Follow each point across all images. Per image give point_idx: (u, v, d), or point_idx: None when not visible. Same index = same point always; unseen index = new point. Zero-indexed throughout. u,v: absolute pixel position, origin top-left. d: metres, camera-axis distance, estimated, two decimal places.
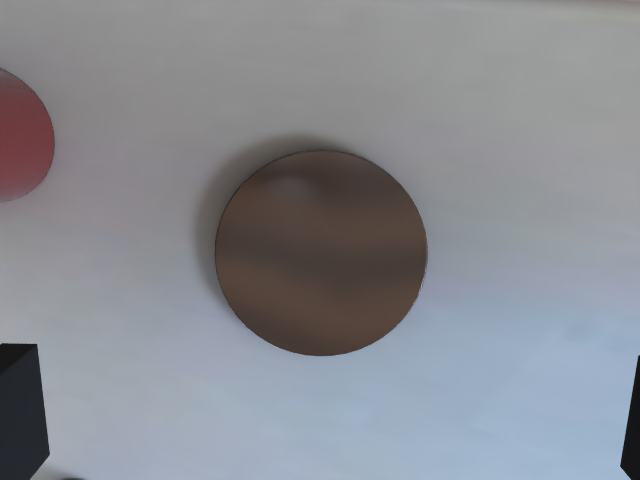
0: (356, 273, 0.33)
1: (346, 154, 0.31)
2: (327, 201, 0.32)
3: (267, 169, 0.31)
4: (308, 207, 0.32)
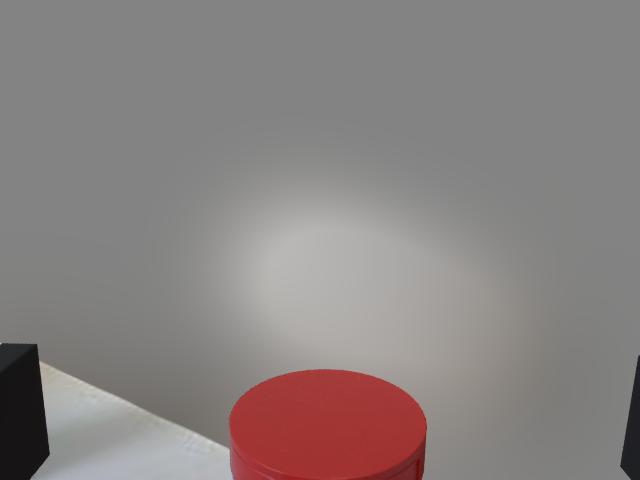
0: None
1: None
2: None
3: None
4: None
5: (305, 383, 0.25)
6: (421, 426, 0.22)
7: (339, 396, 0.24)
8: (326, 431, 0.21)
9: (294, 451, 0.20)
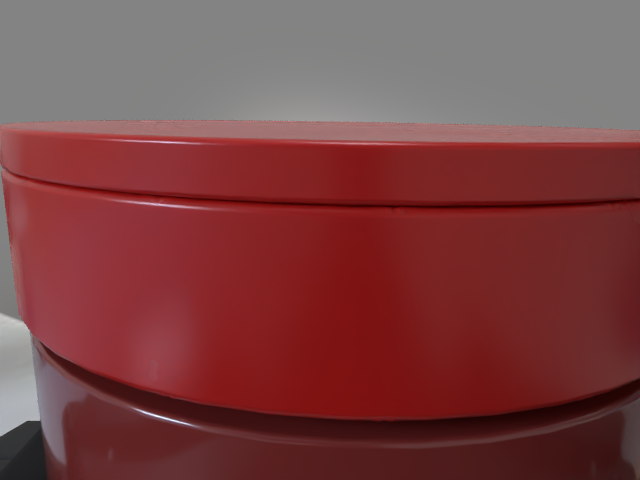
0: None
1: None
2: None
3: None
4: None
5: None
6: None
7: (379, 124, 0.09)
8: (349, 128, 0.06)
9: (217, 130, 0.05)
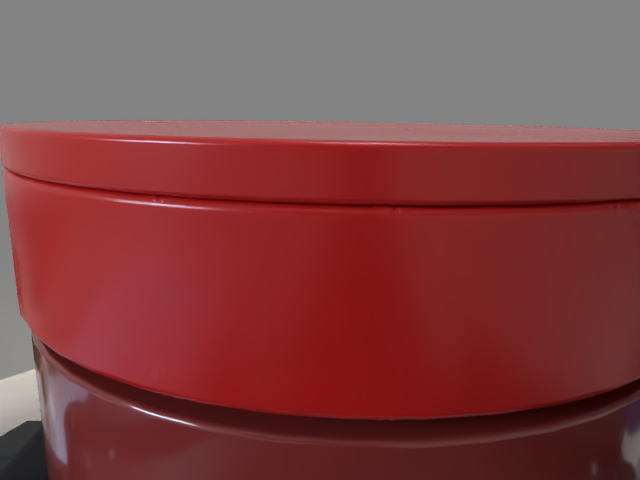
0: None
1: None
2: None
3: None
4: None
5: None
6: None
7: (379, 124, 0.09)
8: (349, 128, 0.06)
9: (218, 130, 0.05)
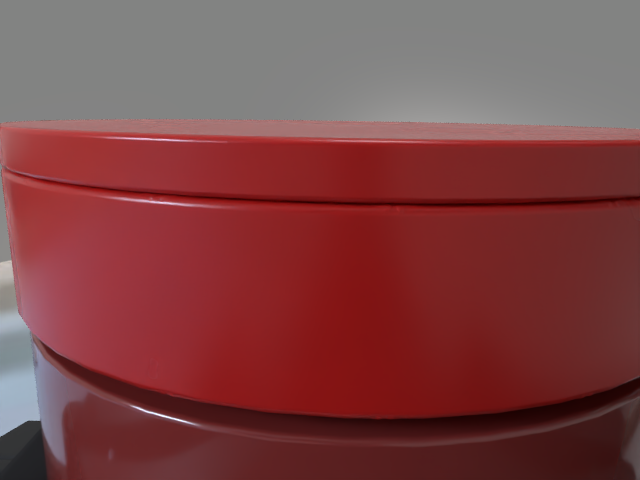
0: None
1: None
2: None
3: None
4: None
5: None
6: None
7: (379, 123, 0.09)
8: (348, 127, 0.06)
9: (217, 127, 0.05)
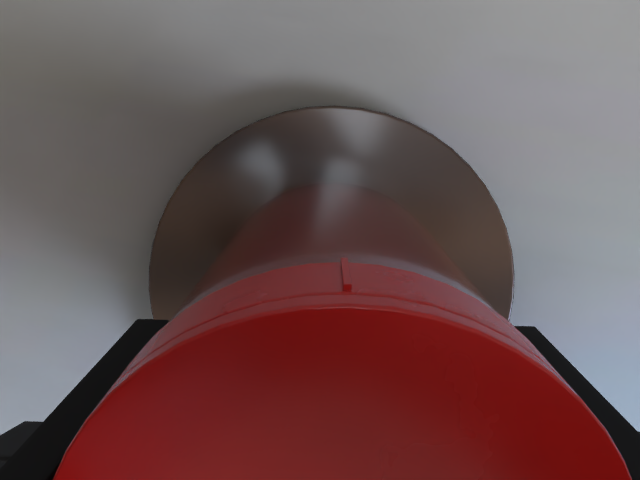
0: None
1: (376, 113, 0.18)
2: None
3: (237, 140, 0.18)
4: None
5: None
6: (236, 337, 0.06)
7: None
8: None
9: None
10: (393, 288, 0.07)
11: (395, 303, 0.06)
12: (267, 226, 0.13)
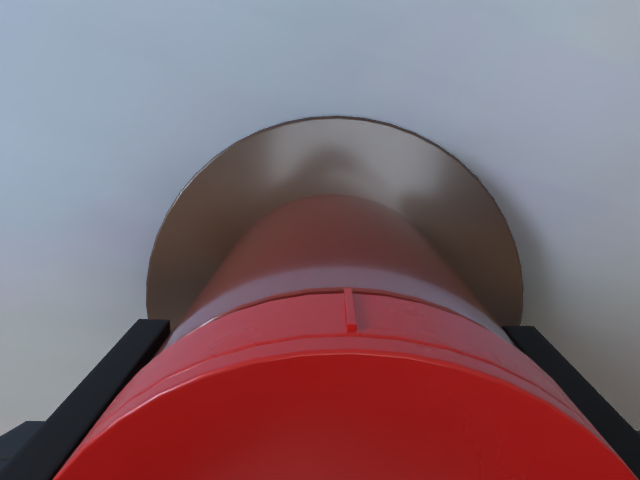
0: None
1: None
2: None
3: None
4: None
5: None
6: (224, 387, 0.06)
7: None
8: None
9: None
10: (403, 327, 0.06)
11: (407, 348, 0.06)
12: None
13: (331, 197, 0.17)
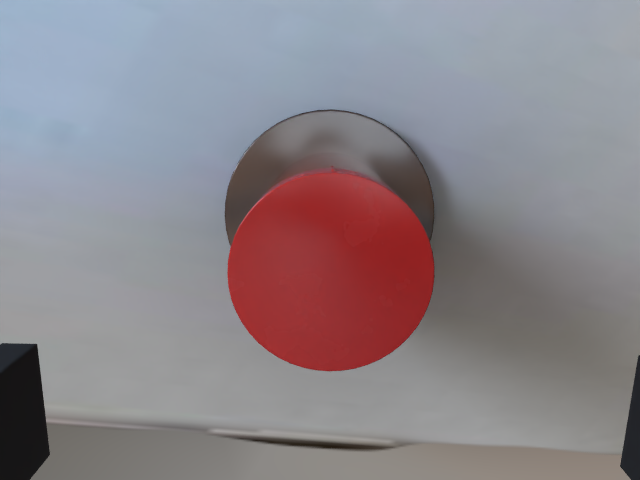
0: None
1: None
2: None
3: None
4: None
5: (288, 328, 0.22)
6: (297, 184, 0.20)
7: (291, 283, 0.21)
8: (358, 262, 0.21)
9: (403, 270, 0.21)
10: (348, 172, 0.21)
11: (347, 173, 0.20)
12: None
13: (328, 153, 0.31)
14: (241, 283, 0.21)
